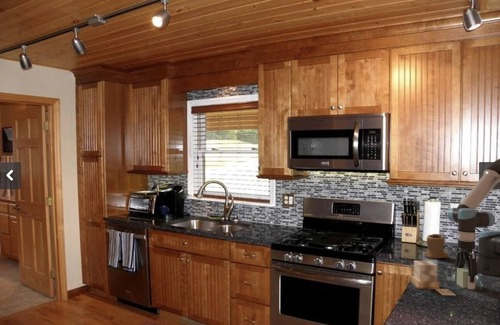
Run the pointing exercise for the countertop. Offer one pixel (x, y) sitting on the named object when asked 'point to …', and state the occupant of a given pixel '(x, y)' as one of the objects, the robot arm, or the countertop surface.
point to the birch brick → (425, 271)
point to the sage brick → (463, 277)
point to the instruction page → (445, 292)
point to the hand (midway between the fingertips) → (465, 285)
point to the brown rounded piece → (435, 246)
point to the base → (424, 284)
